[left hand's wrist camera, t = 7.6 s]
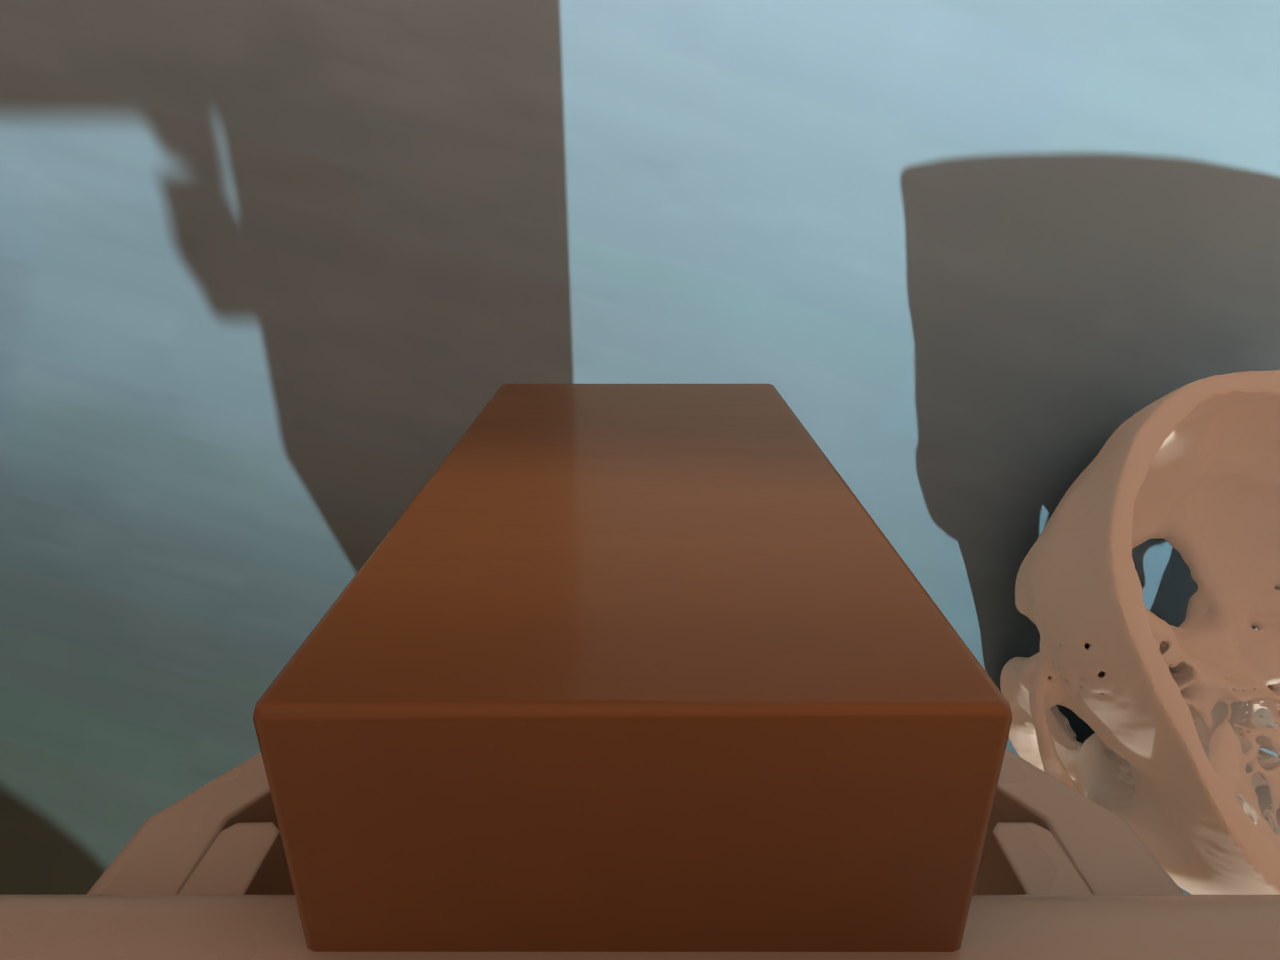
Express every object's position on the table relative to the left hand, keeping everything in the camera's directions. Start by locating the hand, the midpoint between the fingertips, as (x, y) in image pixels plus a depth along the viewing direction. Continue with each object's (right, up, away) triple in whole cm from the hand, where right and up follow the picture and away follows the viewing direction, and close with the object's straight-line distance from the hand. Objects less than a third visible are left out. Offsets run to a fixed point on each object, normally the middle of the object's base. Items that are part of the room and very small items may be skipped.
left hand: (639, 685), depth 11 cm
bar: (0, -7, +6) cm, 9 cm away
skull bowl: (+16, 0, +13) cm, 20 cm away
